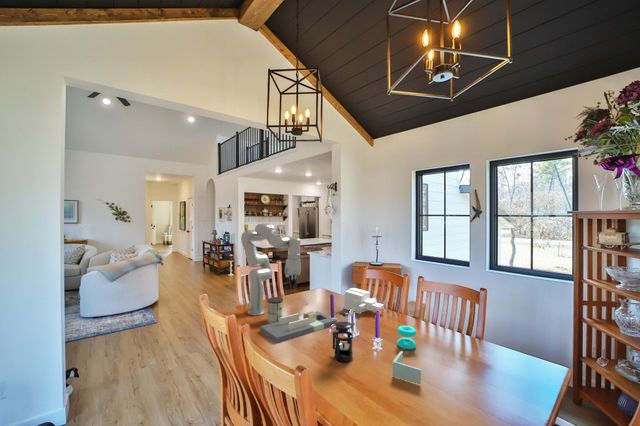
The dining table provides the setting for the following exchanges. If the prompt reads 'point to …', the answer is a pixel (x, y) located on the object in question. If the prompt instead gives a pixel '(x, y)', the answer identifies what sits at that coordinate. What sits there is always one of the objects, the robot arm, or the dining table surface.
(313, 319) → the birch block
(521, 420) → the dining table surface
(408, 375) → the l-shaped corner panel
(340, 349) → the french press
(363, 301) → the blocky voxel creature
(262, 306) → the robot arm
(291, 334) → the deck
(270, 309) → the coffee can
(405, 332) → the donuts
